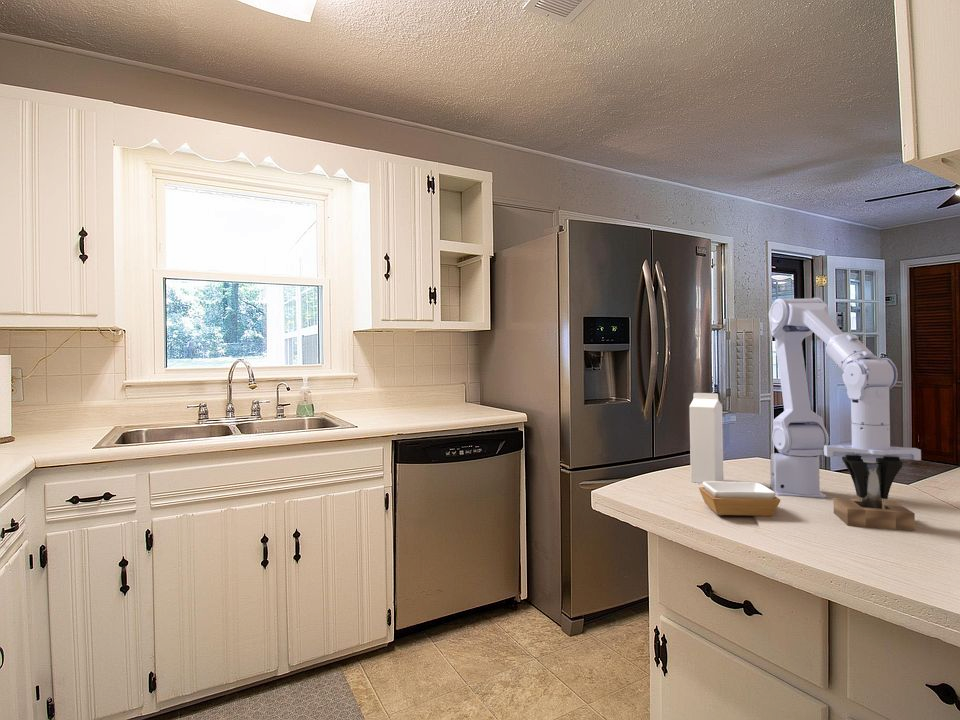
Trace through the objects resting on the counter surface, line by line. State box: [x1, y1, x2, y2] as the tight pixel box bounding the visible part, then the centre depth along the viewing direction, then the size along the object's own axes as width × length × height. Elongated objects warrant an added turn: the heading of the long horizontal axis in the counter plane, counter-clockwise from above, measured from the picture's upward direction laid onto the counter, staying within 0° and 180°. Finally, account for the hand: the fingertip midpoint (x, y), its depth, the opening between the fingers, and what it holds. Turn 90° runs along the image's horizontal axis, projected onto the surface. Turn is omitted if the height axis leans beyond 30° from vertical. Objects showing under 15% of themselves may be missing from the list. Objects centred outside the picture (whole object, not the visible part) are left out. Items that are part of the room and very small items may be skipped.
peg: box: [861, 460, 883, 509], centre depth 96 cm, size 3×3×9 cm
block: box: [833, 497, 916, 531], centre depth 96 cm, size 10×8×3 cm
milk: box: [689, 392, 724, 484], centre depth 129 cm, size 6×6×22 cm
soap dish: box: [698, 480, 781, 517], centre depth 105 cm, size 12×10×5 cm
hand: (871, 497), depth 96 cm, fingers closed on peg, 3 cm apart
